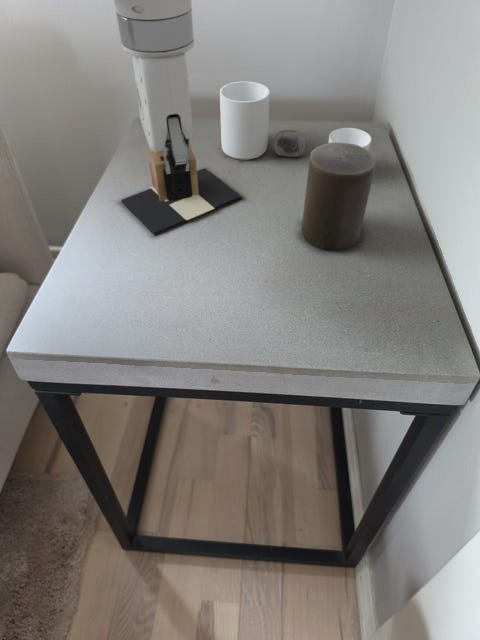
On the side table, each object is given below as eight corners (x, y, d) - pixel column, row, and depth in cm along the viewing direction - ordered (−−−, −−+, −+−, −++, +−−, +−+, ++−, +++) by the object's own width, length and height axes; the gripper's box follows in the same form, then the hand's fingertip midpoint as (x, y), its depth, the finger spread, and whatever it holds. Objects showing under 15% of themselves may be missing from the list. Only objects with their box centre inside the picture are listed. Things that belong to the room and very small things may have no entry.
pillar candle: (318, 257, 77) (331, 172, 66) (291, 223, 83) (299, 140, 72) (371, 243, 79) (392, 158, 68) (341, 210, 85) (356, 128, 74)
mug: (218, 160, 97) (216, 101, 88) (225, 131, 105) (224, 75, 96) (265, 162, 96) (268, 103, 88) (269, 133, 104) (271, 77, 96)
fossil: (272, 158, 97) (273, 135, 94) (272, 150, 100) (273, 126, 96) (304, 159, 97) (307, 135, 93) (303, 150, 99) (305, 126, 96)
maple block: (160, 201, 61) (154, 164, 57) (153, 180, 64) (147, 144, 60) (198, 194, 62) (195, 158, 58) (190, 174, 65) (187, 139, 61)
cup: (365, 162, 96) (372, 129, 91) (363, 189, 90) (370, 156, 85) (326, 158, 97) (330, 125, 92) (321, 185, 91) (326, 151, 86)
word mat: (155, 236, 80) (155, 233, 80) (120, 201, 87) (119, 198, 87) (242, 199, 88) (242, 196, 87) (203, 169, 95) (203, 166, 94)
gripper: (110, 8, 54) (137, 158, 68) (131, 64, 43) (157, 229, 57) (176, 2, 56) (189, 150, 69) (212, 54, 45) (219, 218, 58)
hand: (175, 184), depth 63 cm, fingers closed on maple block, 5 cm apart
